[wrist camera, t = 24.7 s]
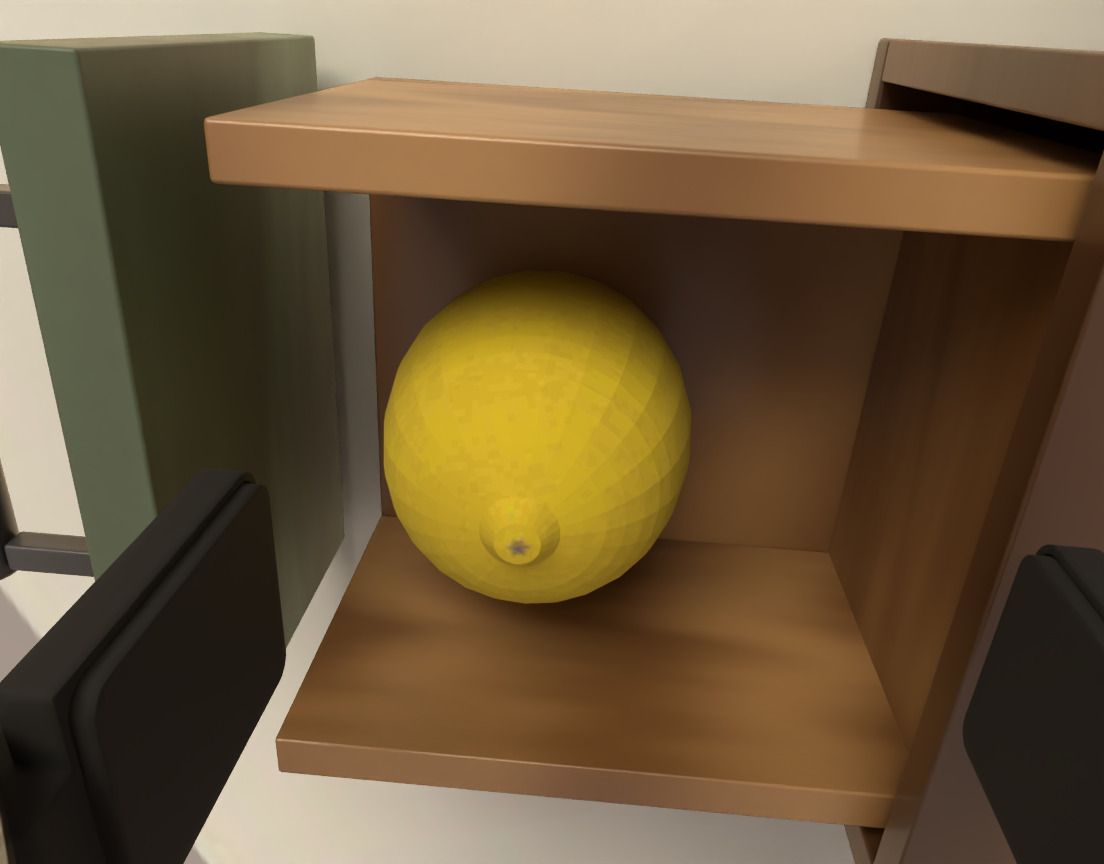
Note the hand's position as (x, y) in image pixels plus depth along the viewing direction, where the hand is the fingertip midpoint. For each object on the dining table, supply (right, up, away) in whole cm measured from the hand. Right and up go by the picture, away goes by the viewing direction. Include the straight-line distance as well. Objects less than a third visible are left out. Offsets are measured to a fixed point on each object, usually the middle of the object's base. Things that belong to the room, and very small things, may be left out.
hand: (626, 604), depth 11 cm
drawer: (-3, +5, +10) cm, 11 cm away
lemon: (-1, +4, +9) cm, 10 cm away
